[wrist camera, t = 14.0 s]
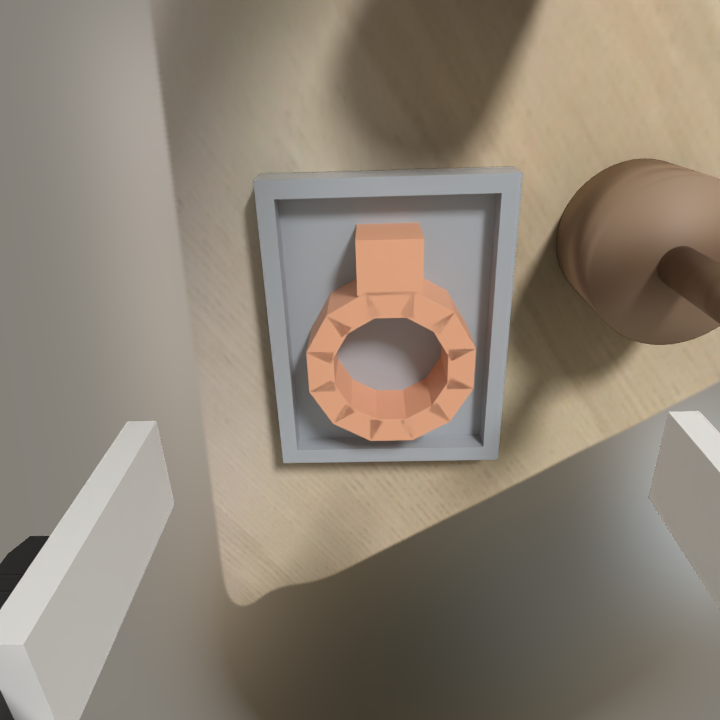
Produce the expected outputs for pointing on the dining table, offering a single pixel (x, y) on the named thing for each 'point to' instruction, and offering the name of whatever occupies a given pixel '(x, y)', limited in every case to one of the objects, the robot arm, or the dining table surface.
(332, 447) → the tray
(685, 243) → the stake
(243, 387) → the dining table surface
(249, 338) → the dining table surface
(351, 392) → the ring
